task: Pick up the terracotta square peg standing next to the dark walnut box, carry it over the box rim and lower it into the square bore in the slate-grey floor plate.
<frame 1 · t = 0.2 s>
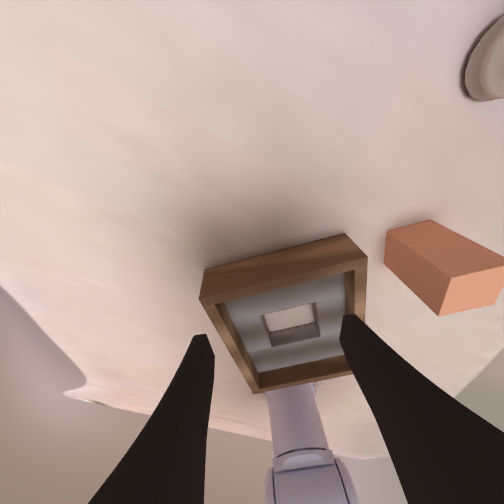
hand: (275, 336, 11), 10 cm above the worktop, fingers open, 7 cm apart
rook chess piece: (493, 60, 13), on the worktop
terracotta peg: (405, 242, 21), on the worktop
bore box: (288, 312, 25), on the worktop
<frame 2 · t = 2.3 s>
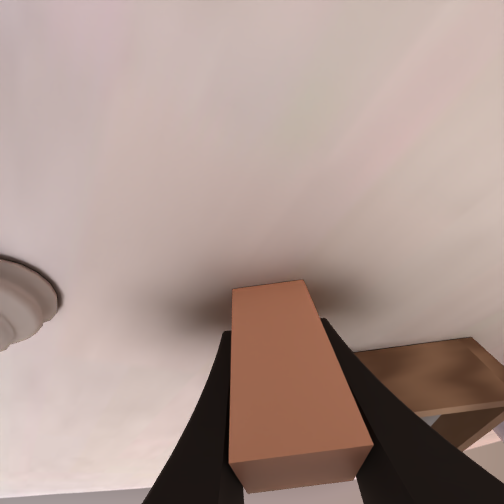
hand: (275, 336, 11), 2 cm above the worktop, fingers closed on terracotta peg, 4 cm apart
rook chess piece: (18, 286, 11), on the worktop
terracotta peg: (270, 308, 13), on the worktop, touching gripper
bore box: (343, 395, 20), on the worktop
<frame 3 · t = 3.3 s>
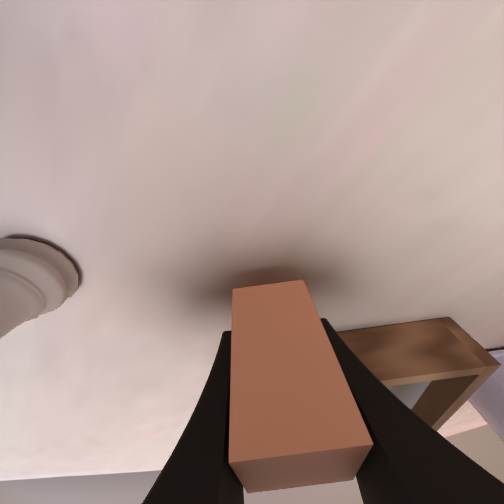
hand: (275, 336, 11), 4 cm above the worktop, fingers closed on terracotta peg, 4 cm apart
rook chess piece: (43, 265, 12), on the worktop
terracotta peg: (270, 308, 13), point 2 cm above the worktop, touching gripper
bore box: (334, 374, 21), on the worktop
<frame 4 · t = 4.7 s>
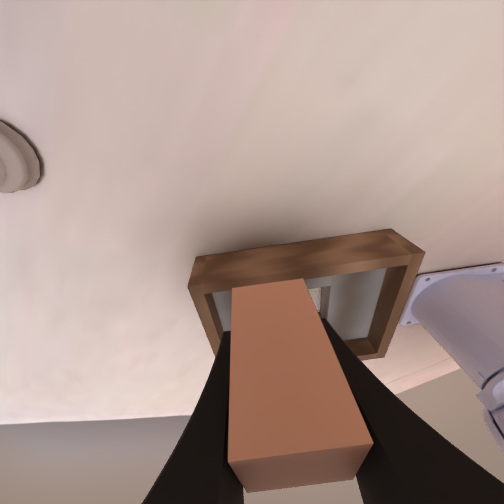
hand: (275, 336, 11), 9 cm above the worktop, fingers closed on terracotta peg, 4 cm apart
rook chess piece: (8, 154, 14), on the worktop
terracotta peg: (270, 307, 13), point 7 cm above the worktop, touching gripper
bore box: (294, 297, 23), on the worktop
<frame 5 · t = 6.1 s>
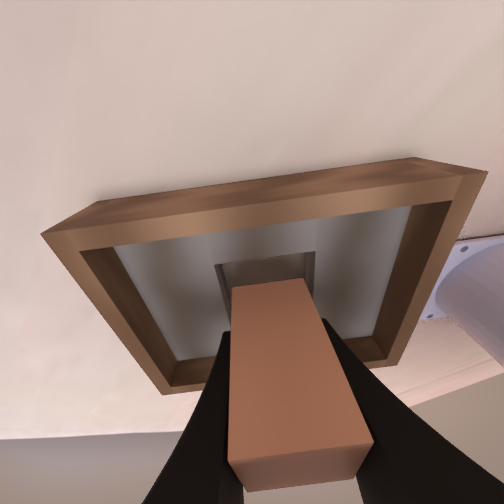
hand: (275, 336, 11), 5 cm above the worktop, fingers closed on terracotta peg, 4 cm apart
terracotta peg: (270, 307, 13), point 3 cm above the worktop, touching gripper
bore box: (265, 276, 15), on the worktop
when the fingers open (4 cm above the worktop, at t = 7.2 s): terracotta peg drops 2 cm, resting in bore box.
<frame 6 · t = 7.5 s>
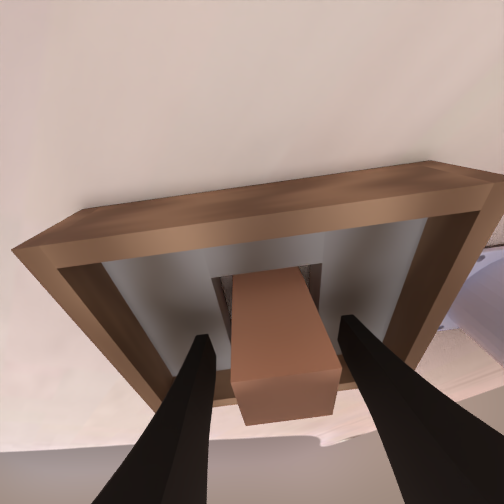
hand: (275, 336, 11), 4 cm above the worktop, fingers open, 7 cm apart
terracotta peg: (266, 285, 14), resting in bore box
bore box: (266, 287, 14), on the worktop
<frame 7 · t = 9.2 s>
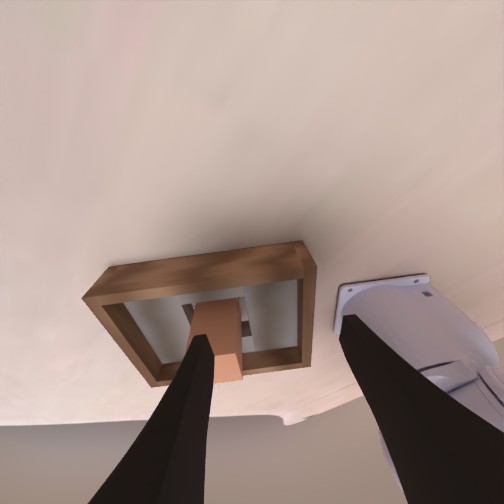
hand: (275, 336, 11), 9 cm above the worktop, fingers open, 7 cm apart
terracotta peg: (220, 305, 23), resting in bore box
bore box: (220, 306, 23), on the worktop
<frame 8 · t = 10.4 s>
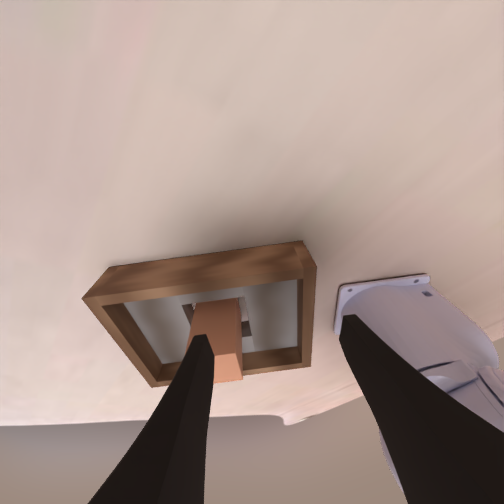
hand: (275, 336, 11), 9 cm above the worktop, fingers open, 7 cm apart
terracotta peg: (220, 305, 23), resting in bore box
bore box: (220, 306, 23), on the worktop
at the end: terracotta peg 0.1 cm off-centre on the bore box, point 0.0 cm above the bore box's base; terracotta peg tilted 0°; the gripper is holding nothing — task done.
